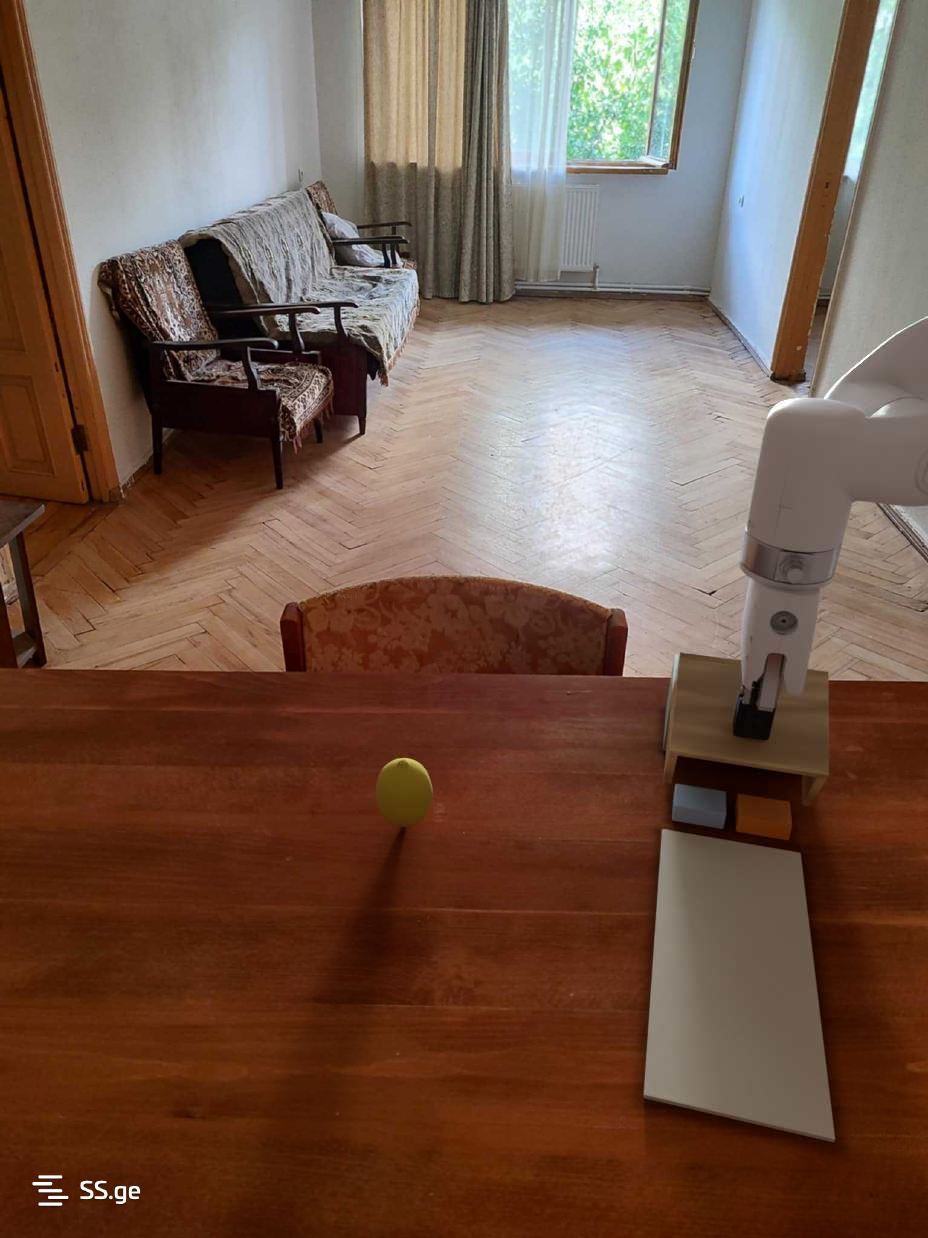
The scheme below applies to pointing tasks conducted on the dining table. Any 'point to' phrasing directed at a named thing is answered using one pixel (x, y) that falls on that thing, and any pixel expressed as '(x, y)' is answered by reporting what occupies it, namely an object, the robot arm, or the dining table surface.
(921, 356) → the robot arm
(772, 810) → the packet orange
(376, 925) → the dining table surface
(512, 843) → the dining table surface
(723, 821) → the packet blue
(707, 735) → the wooden open box
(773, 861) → the mat
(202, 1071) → the dining table surface
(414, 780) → the lemon
